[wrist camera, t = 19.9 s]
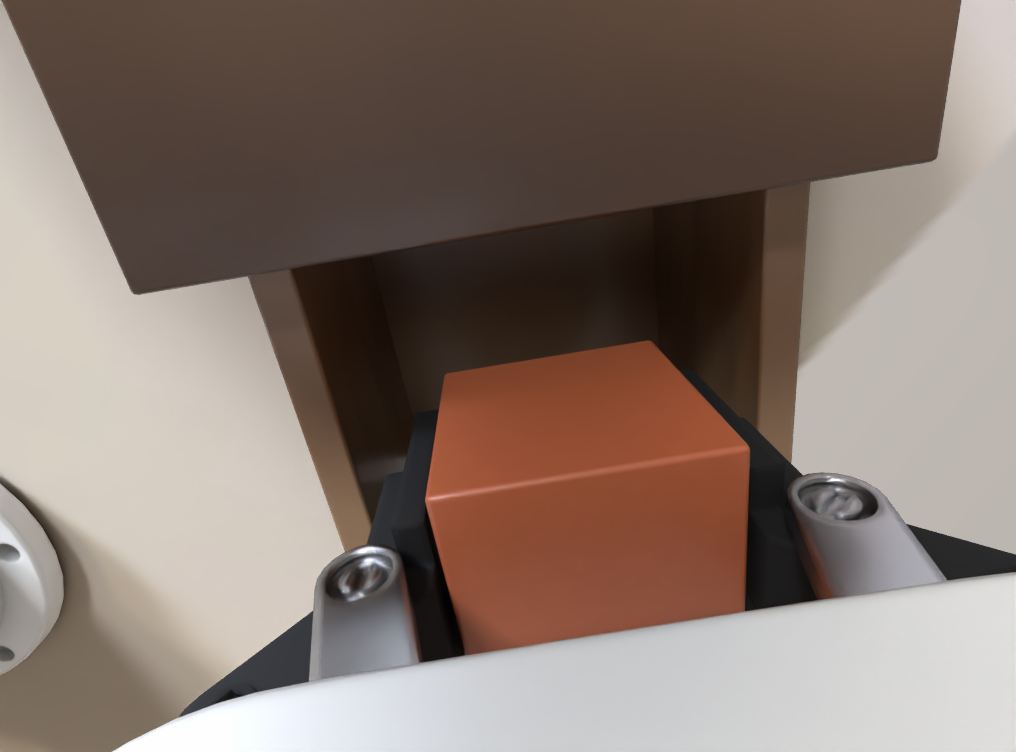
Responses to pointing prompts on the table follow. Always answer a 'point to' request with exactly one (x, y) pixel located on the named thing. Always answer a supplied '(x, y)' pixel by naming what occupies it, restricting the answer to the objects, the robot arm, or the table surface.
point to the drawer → (536, 322)
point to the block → (585, 498)
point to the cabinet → (461, 114)
